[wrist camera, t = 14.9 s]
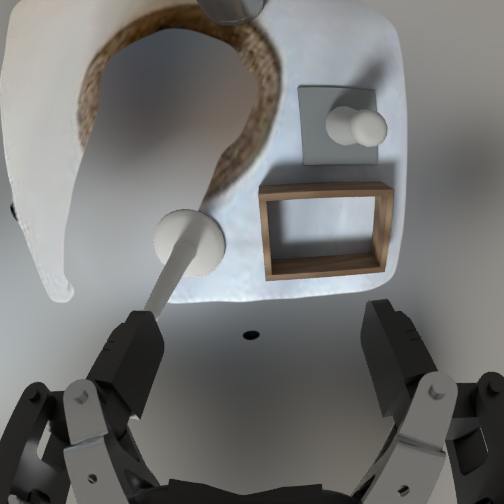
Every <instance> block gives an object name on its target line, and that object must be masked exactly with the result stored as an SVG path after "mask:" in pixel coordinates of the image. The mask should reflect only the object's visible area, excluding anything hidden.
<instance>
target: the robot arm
mask: <svg viewBox="0 0 504 504" xmlns="http://www.w3.org/2000/svg"><path fill="white" fill-rule="evenodd" d="M197 2H198V4H199V5H200V7H201V8H202V10H203V12H204V13H205V15H206V16H207V17H208V18H209V19H210V20H211V21H213V22H215V23H217V24H220V25H225V26H237V25H242V24H245V23H247V22H249V21H251V20H253V19H254V18H255V17H257V16H258V15H259V13H260V12H261V10H262V8H263V3H264V0H197ZM360 339H361V346H362V350H363V352H364V356H365V359H366V362H367V365H368V368H369V372H370V375H371V378H372V381H373V384H374V388H375V392H376V395H377V399H378V402H379V406H380V409H381V413H382V417H387V416H392V415H393V418H394V421H395V422H394V424H393V426H392V428H391V430H390V432H389V434H388V436H387V438H386V440H385V442H384V444H383V445H382V447H381V449H380V451H379V453H378V455H377V457H376V458H375V460H374V462H373V463H372V465H371V467H370V468H369V470H368V471H367V472H366V474H365V475H364V476H363V478H362V479H361V480H360V482H359V484H358V485H357V486H356V488H355V489H354V491H353V492H352V494H351V495H350V496H348V495H346V494H343V493H340V492H336V491H331V490H323V489H322V484H315V485H305V486H292V487H281V488H277V489H273V490H268V491H264V492H259V493H254V494H249V495H238V494H235V493H231V492H228V491H224V490H221V489H218V488H215V487H212V486H209V485H206V484H201V483H193V482H187V481H180V480H175V479H169V484H168V485H163V486H161V485H160V484H159V482H158V480H157V479H156V477H155V476H154V475H153V473H152V472H151V471H150V470H149V468H148V467H147V465H146V464H145V462H144V460H143V458H142V455H141V453H140V451H139V449H138V446H137V444H136V442H135V440H134V437H133V435H132V432H131V430H130V428H129V426H128V424H127V423H128V420H129V418H133V419H138V420H140V419H141V416H142V413H143V410H144V407H145V404H146V401H147V398H148V396H149V393H150V390H151V387H152V384H153V381H154V379H155V376H156V373H157V370H158V368H159V365H160V362H161V359H162V357H163V353H164V340H163V337H162V335H161V332H160V330H159V327H158V325H157V322H156V320H155V317H154V315H153V313H152V312H151V311H132V312H131V313H130V314H129V316H128V318H127V319H126V321H125V323H121V324H120V325H119V326H118V327H117V328H116V329H115V330H113V332H112V333H111V335H110V336H109V338H108V340H107V343H105V345H104V347H103V350H102V351H101V352H100V354H99V356H98V357H97V359H96V361H95V363H94V365H93V366H92V368H91V370H90V372H89V374H88V376H87V378H86V379H81V380H76V381H74V382H73V383H71V384H70V385H69V386H68V387H67V389H66V390H65V391H54V392H50V390H49V389H48V388H47V387H46V386H45V385H44V384H43V383H41V382H35V383H32V384H30V385H29V386H28V387H27V388H26V389H25V390H24V392H23V394H22V396H21V398H20V400H19V401H18V403H17V405H16V407H15V409H14V411H13V414H12V416H11V418H10V420H9V422H8V424H7V426H6V428H5V431H4V433H3V435H2V438H1V440H0V504H66V500H67V496H68V492H69V488H70V484H71V485H72V488H73V491H74V494H75V497H76V500H77V503H78V504H426V503H427V501H428V499H429V497H430V495H431V493H432V491H433V489H434V486H435V484H436V482H437V480H438V477H439V474H440V472H441V470H442V467H443V465H444V461H445V457H446V453H445V452H444V451H442V448H443V444H444V441H445V443H446V447H447V451H448V455H449V459H450V464H451V468H452V473H453V479H454V484H455V490H456V497H457V504H504V377H503V376H502V375H500V374H499V373H496V372H487V373H485V374H483V375H482V376H481V378H480V379H479V381H478V382H477V383H456V382H455V381H454V380H453V378H452V377H450V376H449V375H448V374H446V373H443V372H438V370H437V368H436V366H435V364H434V362H433V360H432V358H431V356H430V354H429V352H428V350H427V348H426V346H425V345H424V343H423V341H422V340H421V337H420V335H419V334H418V331H416V328H415V326H414V324H413V323H412V321H411V319H410V318H409V317H407V316H406V315H405V314H404V313H403V312H402V311H394V309H393V307H392V305H391V303H390V302H389V300H388V299H382V300H373V301H368V302H367V304H366V308H365V314H364V319H363V323H362V328H361V336H360ZM45 428H46V429H47V430H49V431H50V432H51V435H50V438H49V441H48V443H47V446H46V448H45V451H44V454H43V457H42V459H41V460H40V459H39V458H38V456H37V447H38V444H39V441H40V439H41V436H42V434H43V431H44V429H45ZM480 428H481V429H482V432H483V435H482V432H481V429H480ZM483 436H484V438H483ZM484 439H485V442H486V445H487V449H488V452H487V449H486V445H485V442H484Z"/></svg>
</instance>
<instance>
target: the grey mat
mask: <svg viewBox="0 0 504 504" xmlns="http://www.w3.org/2000/svg"><path fill="white" fill-rule="evenodd" d="M298 98H299V109H300V121H301V135H302V150H303V165H325V164H378V146H372V147H366V146H364V145H361V144H359V143H356V144H353V145H346V146H344V145H341V144H338V143H336V142H335V141H334V140H333V139H332V138H330V137H329V135H328V132H327V130H326V118H327V116H328V114H329V113H330V112H331V111H332V110H334V109H335V108H337V107H342V106H347V107H350V108H353V109H355V110H358V111H359V110H363V109H370V110H373V111H375V112H376V98H375V90H364V89H350V88H326V87H298Z"/></svg>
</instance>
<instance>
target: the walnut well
mask: <svg viewBox="0 0 504 504" xmlns="http://www.w3.org/2000/svg"><path fill="white" fill-rule="evenodd" d="M368 196H375V211H374V225H373V236H372V246H371V253H367V254H353V255H338V256H324V257H309V258H293V259H278V260H271V249H270V235H269V222H268V209H267V201H274V200H290V199H309V198H332V197H368ZM393 196H394V189H392V188H390V187H389V186H387V185H386V184H384V183H382V182H329V183H303V184H285V185H269V186H259V192H258V197H259V208H260V219H261V230H262V242H263V253H264V265H265V277H266V281H275V280H291V279H305V278H319V277H332V276H345V275H357V274H368V273H379V272H385V267H386V261H387V254H388V247H389V239H390V230H391V221H392V210H393Z"/></svg>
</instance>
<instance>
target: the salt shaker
mask: <svg viewBox="0 0 504 504" xmlns="http://www.w3.org/2000/svg"><path fill="white" fill-rule="evenodd" d="M326 130H327V132H328V135H329V137H330V138H332V139H333V140H334V141H335V142H336V143H338V144H341V145H344V146H346V145H353V144H356V143H359V144H361V145H364V146H366V147H372V146H378V145H379V144H381V143H382V142H383V141H384V140H385V138H386V136H387V124H386V122H385V119H384V118H383V117H382V116H381V115H380V114H379V113H378V112H375V111H373V110H370V109H363V110H359V111H358V110H355V109H353V108H350V107H347V106H342V107H337V108H335V109H334V110H332V111H331V112H330V113H329V114H328V116H327V118H326Z"/></svg>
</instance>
